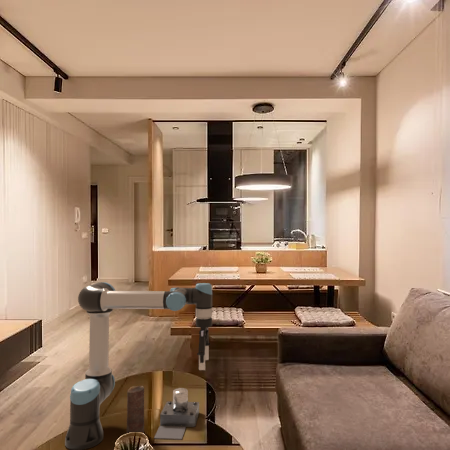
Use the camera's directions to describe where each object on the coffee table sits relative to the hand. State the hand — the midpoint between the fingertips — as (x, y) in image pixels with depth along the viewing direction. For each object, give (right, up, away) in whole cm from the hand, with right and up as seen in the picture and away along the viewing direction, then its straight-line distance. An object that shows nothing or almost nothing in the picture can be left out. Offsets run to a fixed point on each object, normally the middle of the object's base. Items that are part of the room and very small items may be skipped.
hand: (203, 364), depth 165 cm
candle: (-30, -28, -7) cm, 41 cm away
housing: (-12, -28, +7) cm, 31 cm away
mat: (-14, -28, -6) cm, 32 cm away
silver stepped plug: (-12, -28, +7) cm, 31 cm away
